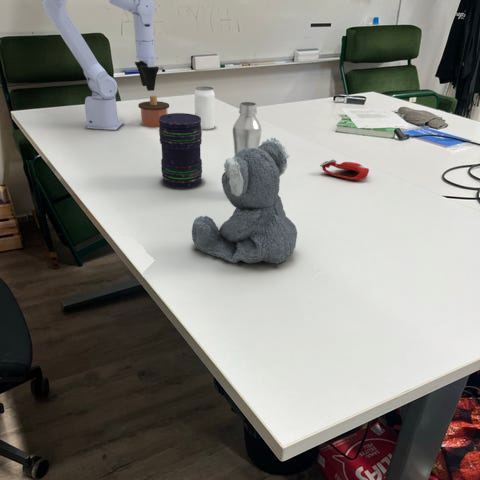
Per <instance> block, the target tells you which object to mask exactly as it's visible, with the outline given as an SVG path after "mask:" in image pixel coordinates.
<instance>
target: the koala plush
mask: <svg viewBox="0 0 480 480" xmlns="http://www.w3.org/2000/svg"><path fill="white" fill-rule="evenodd" d="M234 155H235V154H234ZM290 156H291V155H290V154H289V153H288V151H287V150H286V147H285V146H284V145H283V143H282V142H281V141H280V140H279V139H276V137H271V138H270V139H269V138H267V139H266V141H265V140H263V141H262V142H261V144H259V147H258V149H256V148H248V149H242V150H241V151H239V152H238V153H237V154H236V155H235V156H232V157H228V158H226V159H225V161H224V163H223V168H224V169H223V170H224V172H223V174H222V176H221V185H222V190H223V192H224V194H225V196H226V198H227V200H228V201H229V202H230V204H231V205H232V206H233V207H234V208H235V209H234V210H233V212H232V215H230V216H229V218H228V219H227V220H225V221H224V222H223V223H222V224H221V226H220V227H218V226H217V224H216V222H215V221H214V219H213V218H211V217H209V216H207V215H205V216H203V215H199V216H197V217H196V218H195V219H193V220H194V221H193V222H192V227H191V238H192V239H191V240H192V242H193V244H194V245H195V247H196V249H197V250H199V251H200V252H202V253H204V254H207V255H210V256H213V257H218V258H220V259H223V260H224V261H227V262H228V263H232V264H237V263H239V262H240V261H242V262H244V263H246V264H255V263H259V262H265V263H268V264H275V265H278V264H280V263H283V262H285V261H286V260H287V259H288V258H289V257H291V256H292V255H293V253H294V251H295V249H296V246H297V245H296V244H297V238H298V230H297V227H296V225H295V224H294V222H293V221H292V220H291V219H290V218H289V217H287V215H286V211H285V210H284V205H283V201H282V198H281V196H280V195H279V192H280V183H281V178H280V177H281V176H282V175H284V174H285V172H286V170H287V168H288V159H289V157H290Z"/></svg>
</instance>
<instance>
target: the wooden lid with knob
mask: <svg viewBox="0 0 480 480" xmlns="http://www.w3.org/2000/svg"><path fill="white" fill-rule="evenodd" d="M137 106H138V108H139V109H140V110H141V109H145V110H163V109H167V110H168V109H169V108H170V104H169V103H168V102H165V101H160V100H159V101H158V97H157V95H150V96H149V101H142V102H140V103H138V105H137Z"/></svg>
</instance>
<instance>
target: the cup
mask: <svg viewBox="0 0 480 480" xmlns="http://www.w3.org/2000/svg"><path fill="white" fill-rule="evenodd" d="M165 114H169V113H168V108H167V109H163V110H145V109H141V108H140V118H141V125H142V126H143V127H146V128H159V124H160V123H159V117H160V116H162V115H165Z"/></svg>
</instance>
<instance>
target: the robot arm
mask: <svg viewBox="0 0 480 480" xmlns="http://www.w3.org/2000/svg"><path fill="white" fill-rule="evenodd" d="M108 2H109V3H110V4H111V5H113V6H115V7H118V8H120V9H122V10H124V11H127V12H129V13H131V14H132V17H133V28H134V30H133V31H134V41H135V50H136V51H135V53H136V56H135V59H136V60H137V61H134V65H135V67H136V69H137V72H138V74H139V78H140V82H141V85H142V86H143V87H146V90H147V91H148V92H149V91H150V92H152V91H155V87H156V79H157V75H158V73H159V70H160V67H159V66H155V61H156V60H159V59H160V57H159V55H156V51H155V36H154V20H153V18H154V15H155V12H156V5H155V3H154V0H108ZM66 3H67V0H42V7H43V11H44V12H45V14H46V15H47V16H48V17H47V18H48V19H49V20H50V22H51V23H52V25H53V26H54V27H55V29H56V30H57V32H58V33H59V35H60V37H61V38H62V40H63V41H64V43H65V44H66V46H67V47H68V49H69V50H70V51H71V54H72V55H73V56H74V58H75V60H76V61H77V63H78V64H79V65H80V67H81V69H82V71H83V75H84V77H85V78H86V81H87V87H88V88H89V90H90V91H91V96H86V97H85V99H84V111H85V117H86V124H87V126H86V128H87V129H93V130H107V131H116V130H117V129H119V128H120V127H121V126H122V125H124V123H123V122H122V121H121V122H119V116H118V107H117V106H118V105H117V98H116V95H117V93H118V83H117V81H116V79H115V78H114V77H112V76H110V75H109V74H108V72H107V71H106V70H105V68H104V67H103V66H102V65H101V63H99V62H98V60H97V58H96V57H95V55H94V53H93V52H92V49H90V46H89V45H88V43H87V42H86V41H85V39H84V37H83V36H82V34H81V32H80V31H79V29H78V28H77V26H76V25H75V23H74V21H73V19H72V18H71V17H70V15H69V13H68V12H67V10H66Z"/></svg>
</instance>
